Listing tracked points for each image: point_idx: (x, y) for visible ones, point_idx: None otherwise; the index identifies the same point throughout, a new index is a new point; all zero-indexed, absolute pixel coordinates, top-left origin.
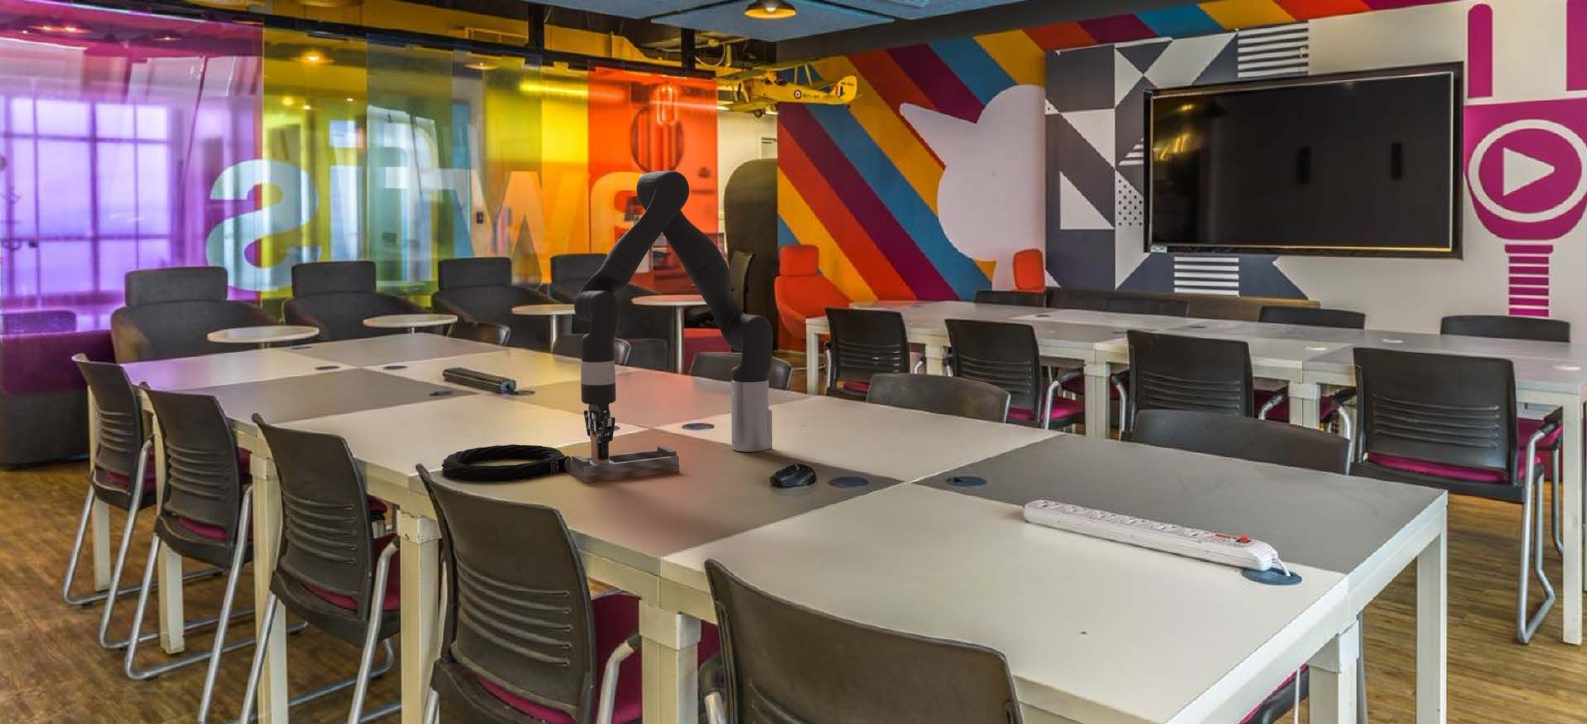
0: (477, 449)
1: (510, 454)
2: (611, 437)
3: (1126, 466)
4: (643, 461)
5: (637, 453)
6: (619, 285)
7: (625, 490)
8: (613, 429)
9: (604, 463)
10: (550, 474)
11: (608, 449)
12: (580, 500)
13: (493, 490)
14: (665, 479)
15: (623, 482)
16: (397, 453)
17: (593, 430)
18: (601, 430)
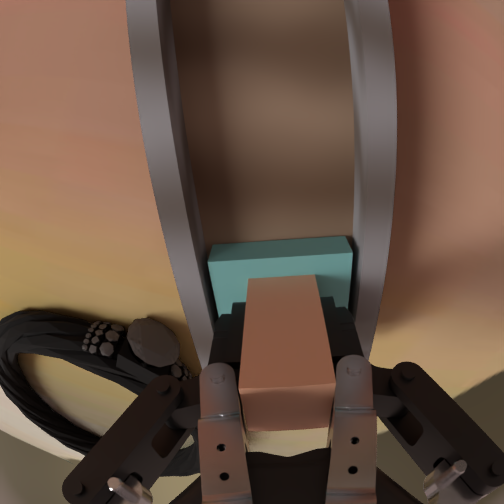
0: (40, 423)
1: (18, 376)
2: (429, 384)
3: None
4: (394, 119)
5: (165, 82)
6: None
7: (498, 251)
8: (468, 418)
9: (322, 295)
10: (189, 371)
11: (322, 319)
12: (484, 353)
13: (296, 448)
14: (457, 67)
15: (419, 223)
16: (16, 428)
17: (248, 446)
18: (413, 453)
